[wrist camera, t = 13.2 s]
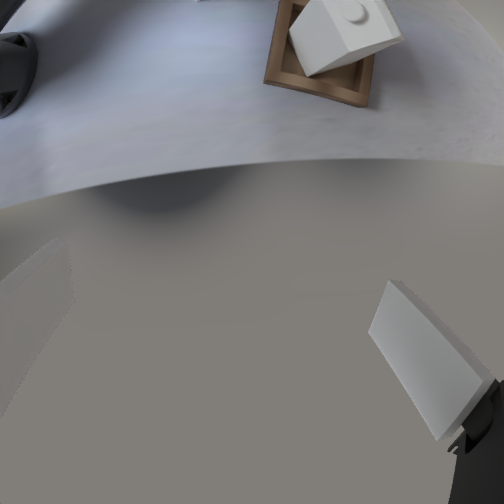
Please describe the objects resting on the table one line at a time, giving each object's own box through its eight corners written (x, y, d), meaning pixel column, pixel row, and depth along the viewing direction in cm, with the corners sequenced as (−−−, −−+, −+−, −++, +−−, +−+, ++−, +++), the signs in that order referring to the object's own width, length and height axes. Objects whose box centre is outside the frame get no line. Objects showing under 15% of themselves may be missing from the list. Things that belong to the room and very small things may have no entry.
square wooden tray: (263, 83, 36) (266, 79, 33) (279, 0, 31) (283, -8, 29) (357, 107, 38) (367, 106, 36) (369, 27, 34) (378, 22, 31)
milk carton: (329, 23, 33) (393, -32, 15) (349, 64, 35) (427, 31, 18) (285, 34, 33) (329, -27, 16) (306, 77, 36) (368, 41, 18)
